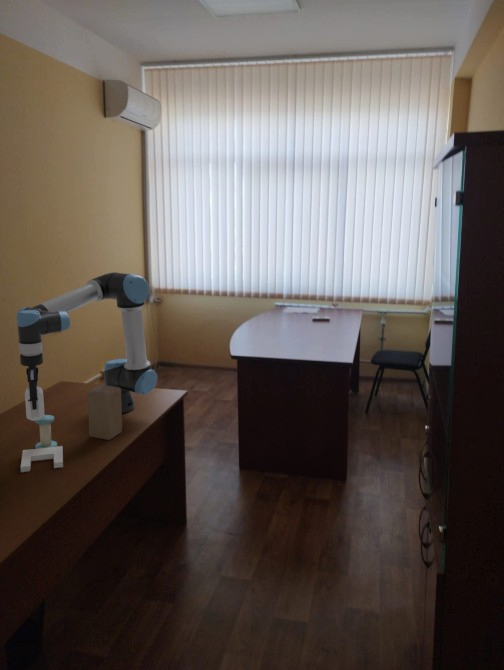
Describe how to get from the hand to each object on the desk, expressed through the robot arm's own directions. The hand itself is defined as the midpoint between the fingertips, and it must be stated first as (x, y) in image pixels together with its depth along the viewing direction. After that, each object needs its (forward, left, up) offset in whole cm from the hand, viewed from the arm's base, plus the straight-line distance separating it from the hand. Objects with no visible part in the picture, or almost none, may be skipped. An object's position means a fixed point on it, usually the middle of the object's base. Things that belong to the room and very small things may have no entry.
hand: (35, 413), depth 199 cm
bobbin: (-3, -7, -17) cm, 18 cm away
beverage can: (0, 0, -2) cm, 2 cm away
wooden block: (-26, -13, -17) cm, 33 cm away
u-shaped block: (-2, +5, -17) cm, 18 cm away
